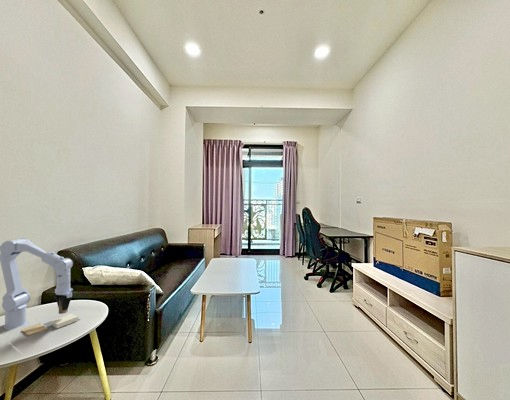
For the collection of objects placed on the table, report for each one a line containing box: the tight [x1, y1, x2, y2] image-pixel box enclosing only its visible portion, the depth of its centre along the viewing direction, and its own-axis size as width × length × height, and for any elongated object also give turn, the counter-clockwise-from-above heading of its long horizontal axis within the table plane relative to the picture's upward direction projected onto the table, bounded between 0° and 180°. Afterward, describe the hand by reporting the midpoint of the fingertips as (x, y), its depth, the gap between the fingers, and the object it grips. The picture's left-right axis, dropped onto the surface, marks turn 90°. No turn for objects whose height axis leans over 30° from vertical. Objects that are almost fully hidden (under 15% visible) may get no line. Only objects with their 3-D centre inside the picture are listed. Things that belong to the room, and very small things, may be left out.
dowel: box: [58, 300, 69, 315], centre depth 124 cm, size 4×4×7 cm
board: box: [21, 323, 48, 337], centre depth 117 cm, size 9×7×1 cm
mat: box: [42, 318, 81, 331], centre depth 125 cm, size 12×12×1 cm
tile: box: [50, 313, 79, 329], centre depth 123 cm, size 2×9×7 cm
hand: (63, 308), depth 124 cm, fingers closed on dowel, 4 cm apart
